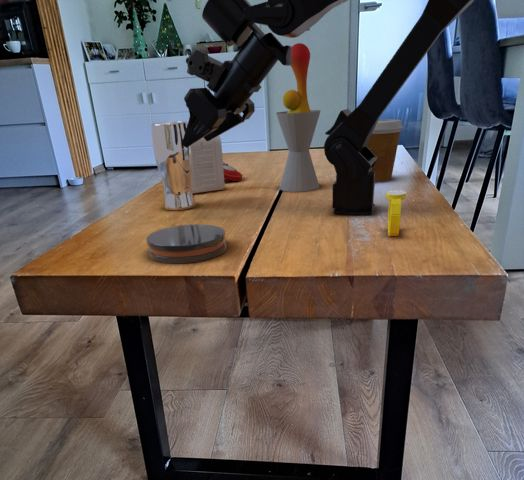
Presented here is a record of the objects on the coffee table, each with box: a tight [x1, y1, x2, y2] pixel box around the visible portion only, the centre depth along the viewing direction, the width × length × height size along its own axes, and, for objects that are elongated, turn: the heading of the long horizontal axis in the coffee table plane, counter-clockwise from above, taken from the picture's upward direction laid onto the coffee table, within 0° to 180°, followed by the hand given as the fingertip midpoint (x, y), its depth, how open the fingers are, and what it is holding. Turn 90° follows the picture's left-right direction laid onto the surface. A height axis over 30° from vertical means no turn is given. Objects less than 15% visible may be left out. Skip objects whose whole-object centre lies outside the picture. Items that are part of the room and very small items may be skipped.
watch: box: [385, 189, 407, 237], centre depth 70 cm, size 6×3×6 cm, turn 170°
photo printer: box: [191, 135, 226, 194], centre depth 106 cm, size 10×4×12 cm, turn 117°
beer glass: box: [150, 120, 197, 211], centre depth 92 cm, size 7×7×15 cm
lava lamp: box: [275, 28, 321, 193], centre depth 98 cm, size 9×9×35 cm
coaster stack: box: [146, 223, 227, 264], centre depth 69 cm, size 11×11×2 cm
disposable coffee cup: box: [366, 118, 404, 183], centre depth 107 cm, size 10×10×12 cm
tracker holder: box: [223, 161, 243, 182], centre depth 120 cm, size 12×4×10 cm
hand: (195, 142), depth 89 cm, fingers open, 9 cm apart
